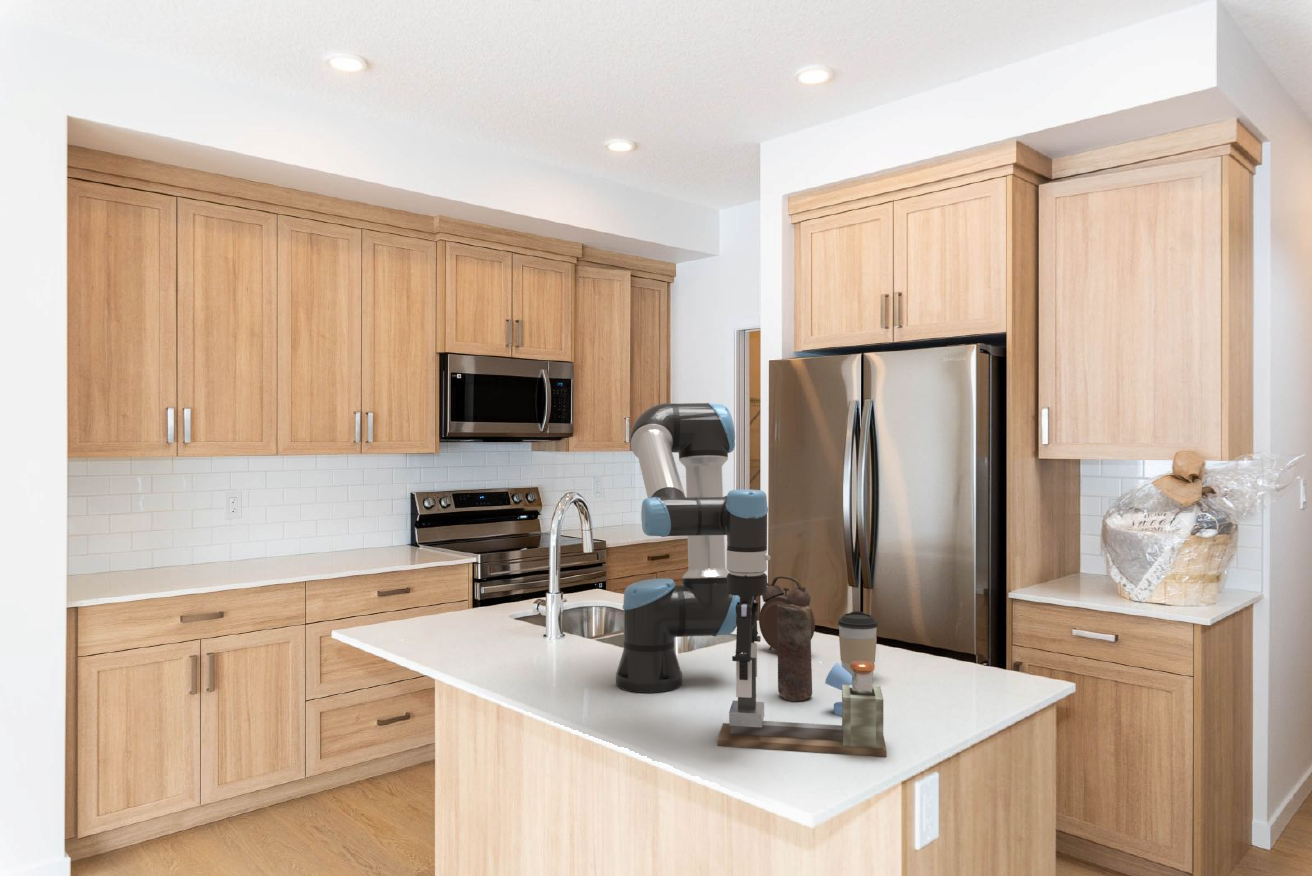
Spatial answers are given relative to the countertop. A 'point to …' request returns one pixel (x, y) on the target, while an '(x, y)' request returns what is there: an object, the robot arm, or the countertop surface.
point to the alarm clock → (770, 608)
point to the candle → (794, 652)
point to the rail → (792, 744)
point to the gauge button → (862, 677)
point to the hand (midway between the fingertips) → (747, 686)
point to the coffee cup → (857, 638)
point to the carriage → (747, 707)
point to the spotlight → (838, 683)
